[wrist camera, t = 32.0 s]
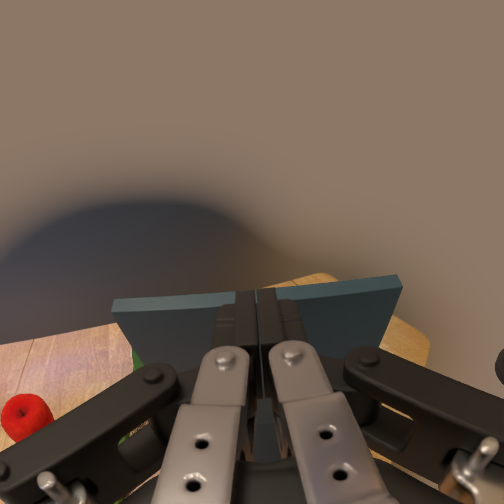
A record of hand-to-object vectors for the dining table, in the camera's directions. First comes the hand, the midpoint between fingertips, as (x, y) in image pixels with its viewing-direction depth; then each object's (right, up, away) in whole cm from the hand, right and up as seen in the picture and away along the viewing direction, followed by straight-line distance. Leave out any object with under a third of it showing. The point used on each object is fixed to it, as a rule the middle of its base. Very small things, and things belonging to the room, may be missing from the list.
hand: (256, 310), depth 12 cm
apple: (-32, -27, +21) cm, 47 cm away
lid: (+1, -6, +7) cm, 9 cm away
